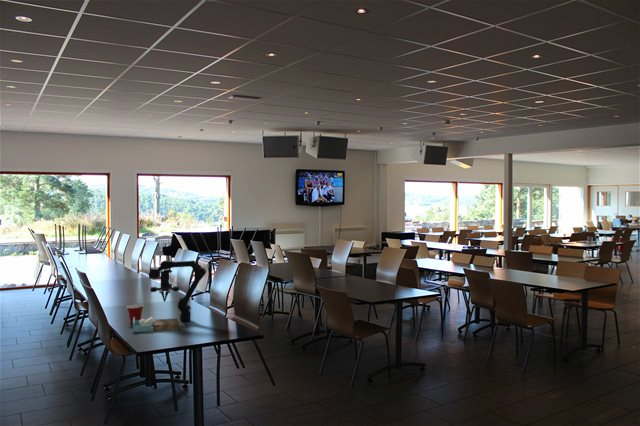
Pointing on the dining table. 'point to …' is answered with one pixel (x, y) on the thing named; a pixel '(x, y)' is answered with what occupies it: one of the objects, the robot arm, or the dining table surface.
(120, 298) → the dining table surface
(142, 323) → the tile
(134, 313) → the plastic cup
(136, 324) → the box
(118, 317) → the dining table surface
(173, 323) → the walnut plate
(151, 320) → the tile
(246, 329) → the dining table surface
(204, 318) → the dining table surface
